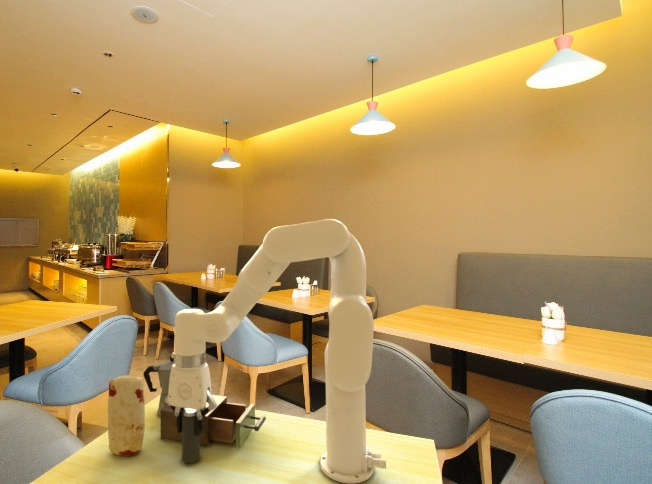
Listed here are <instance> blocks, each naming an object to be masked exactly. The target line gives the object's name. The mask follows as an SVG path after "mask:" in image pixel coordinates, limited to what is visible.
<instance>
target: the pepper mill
mask: <svg viewBox="0 0 652 484" xmlns="http://www.w3.org/2000/svg"><path fill="white" fill-rule="evenodd" d="M196 419H197V413H196V409H189V408H186V409H184V411H183V414H182V442H181V460H182V463H185V464H193V463H195V462H197V461H199V459H200V458H201V446H200V435H199V436H196V435H195V421H196Z"/></svg>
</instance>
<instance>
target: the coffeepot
mask: <svg viewBox="0 0 652 484" xmlns="http://www.w3.org/2000/svg"><path fill="white" fill-rule="evenodd" d="M173 364H175V359H174V358H172V357H171V355H169V360H168V361H164V362H160V363H159V364H155V365H149V366H147V367H146V369H145V370H144V371H143V378H144V380H145V382H146V385H147V387H148V390H149V392H150V393H156V392H157V391H158V387H155V388H154V387H153V382H152V380H151V374H150V373H157V374H158V380H159V388H161V393H160V396H159V403H158V409H157V415H158V416H160V410H161V409H162V408H163V407H165V406H166V405H167V403H166V402H165V399H166V397H167V396H168V390H169V379H170V373H171V368H172V365H173Z"/></svg>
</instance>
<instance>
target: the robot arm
mask: <svg viewBox="0 0 652 484" xmlns="http://www.w3.org/2000/svg"><path fill="white" fill-rule="evenodd" d="M325 258H326V259H327V258H328V259H329V261H330V279H331V280H330V295H329V305H328V308H327V315H328V320H329V321H328V322H329V324H328V325H329V326H328V328H329V329H328V342H327V344H326V346H325V349H324V374H325V375H324V376H325V433H326V436H325V437H326V438H325V439H326V442H325V443H326V451H324V452H323V453H322V455H321V457H320V462H319V463H320V469H321V471H322V472H323V473H324V474H325V476H327V477H328V478H330V479H331V480H333V481H336V482H339V483H342V484H361V483H363V482H366V481H367V480H369V479H370V478H371V477H372V476H373V473H374V468H378V469H383V470H387V459H386V458H382V454H381V453H378V452H372V451H371V450H369V444H367V415H366V414H367V413H366V412H367V411H366V409H367V407H366V406H367V405H366V404H367V401H366V399H367V397H366V395H367V394H366V384H367V383H368V381H369V379H370V377H371V373H372V365H373V350H374V329H375V326H374V316H373V312H372V309H371V308H370V305H368V302H367V260H366V256H365V252H364V250H363V248H362V246H361V244H360V242H359V240H357V238H356V237H355V236H354V235H353V234H352V232H350V231H349V229H348V227H347V226H346V225H345V224H344V223H343V222H341V221H340V220H338V219H334V218H327V219H320V220H313V221H308V222H301V223H296V224H290V225H289V224H288V225H281V226H280V225H279V226H276V227H273V228H271V229H270V230H269V231H267V233H266V234H265V236H264V238H263V240H262V243H261V245H260V246H259V248H258V249H257V250H256V251H255V253H254V254H253V255H252V256H251V258H250V259H249V260H248V261H247V263H245V265H244V266H243V268H242V269H240V271H239V274H238V277H237V280H236V283H235V284H234V286H233V287H232V289H231V290H230V291H229V292H228V294H227V295H226V297H225V298H224V299H223V300H222V302H221V303H220V304H219V305H218V306H217V308H215V309H214V310H212V311H210V312H207V313H206V312H205V311H204V310H202V309H199V308H187V309H181V310H179V311H177V312H176V314H175V316H174V352H172V353H171V355H170V356H171V357H172V358H174V361H175V364H173V365H172V368H171V373H170V379H169V390H168V396H167V397H166V399H165V402H166V403H167V404H168V405H169V406H170V407H171V409H172V410H173V411H174V415H175V416H176V417H177V433H181V432H182V414H183V411H184V409H185V408H189V409H196V413H197V419H196V421H195V435H196V436H199V435H200V434H201V433H202V432H203V431H204V429H205V415H206V414H207V413H209V412H210V411H212V410H213V409H215V408H216V407H217V403H216V401H215V400H214V398H213V396H212V395H213V394H212V382H211V380H212V379H211V373H210V368H209V367H210V366H209V364H208V363H207V361H206V352H207V351H206V350H207V349H206V347H207V345H206V343H211V344H220V343H223V342H225V341H226V340H228V338H229V337H231V335H232V334H233V332H234V331H236V330H237V328H238V327H239V326H240V324H241V323H242V322H243V321H244V320H245V318H246V317H247V316H248V314H249V312H250V311H251V310H252V309H253V308H254V307H255V306H256V304H257V303H258V302H259V301H260V300H261V299H262V298H263V297H265V295H266V294H267V293H268V292H269V291H270V289H271V288H272V287H273V286H274V285H275V284H276V282H277V281H278V279H279V278H280V277H281V275H282V274H283V273H284V272H285V270H286V269H287V268H288V267H289V266H290V264H291V263H298V262H306V261H312V260H318V259H325ZM207 402H208V404H209V406H208V407H207V408H206V403H207Z"/></svg>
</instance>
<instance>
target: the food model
mask: <svg viewBox="0 0 652 484" xmlns="http://www.w3.org/2000/svg"><path fill="white" fill-rule="evenodd" d="M107 398H108V399H107V435H108V436H107V437H108V450H109V451H110V452H111V453H113V454H115V455H117V456H123V457H125V456H126V457H130V456H135V455H138V453H139V452H140V451H141V450H142V449H143V444H144V440H145V432H146V405H145V389H144V379H143V377H141V376H136V375H132V374H125V375H119V376H117V377H115V378H113V379H110V380H109V381H108V396H107Z"/></svg>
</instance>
